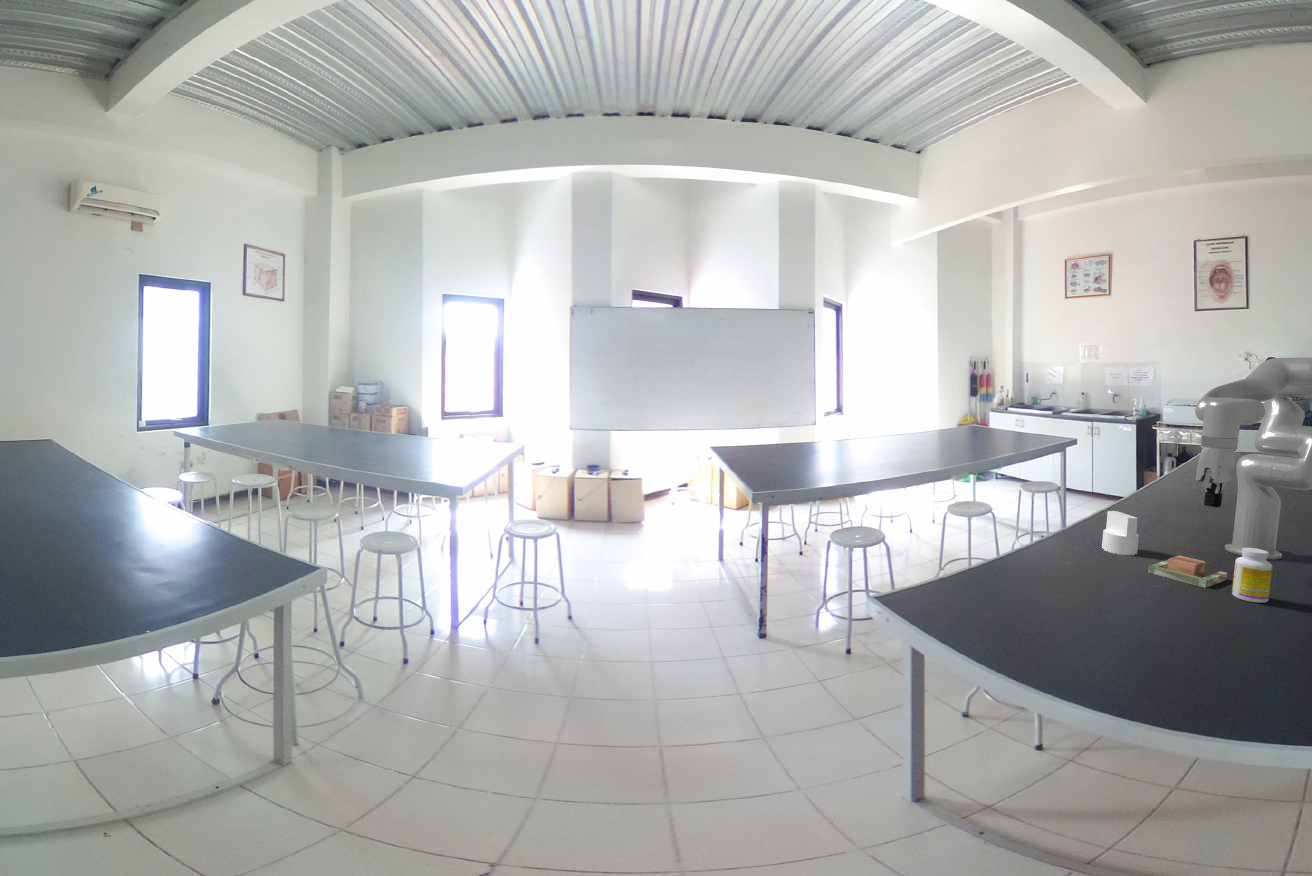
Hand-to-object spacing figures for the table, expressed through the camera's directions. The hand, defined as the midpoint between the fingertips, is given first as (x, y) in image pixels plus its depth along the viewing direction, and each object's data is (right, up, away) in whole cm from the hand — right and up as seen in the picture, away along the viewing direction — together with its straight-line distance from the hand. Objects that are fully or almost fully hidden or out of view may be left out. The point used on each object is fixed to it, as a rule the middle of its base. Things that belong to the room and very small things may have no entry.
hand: (1212, 506), depth 167 cm
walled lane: (-10, -20, -2) cm, 22 cm away
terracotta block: (-10, -20, -2) cm, 23 cm away
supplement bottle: (-8, -22, -18) cm, 29 cm away
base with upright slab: (-11, -17, +20) cm, 29 cm away
